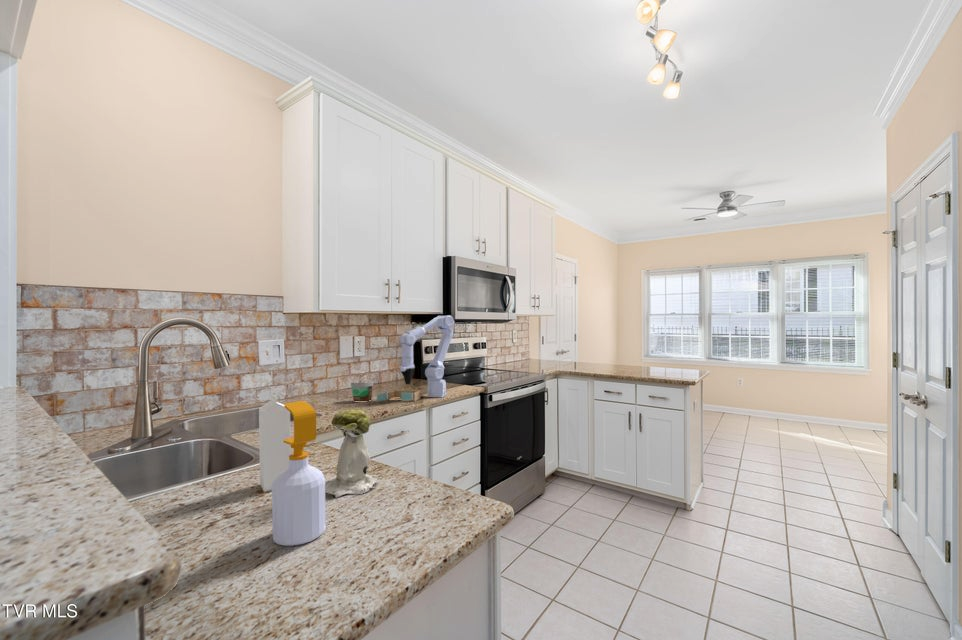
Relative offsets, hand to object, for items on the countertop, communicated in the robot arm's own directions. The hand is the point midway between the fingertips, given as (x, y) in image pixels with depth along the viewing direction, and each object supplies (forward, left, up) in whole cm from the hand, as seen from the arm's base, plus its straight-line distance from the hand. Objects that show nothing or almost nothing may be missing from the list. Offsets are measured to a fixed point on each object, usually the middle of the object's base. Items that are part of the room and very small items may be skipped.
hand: (408, 383), depth 209 cm
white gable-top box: (-9, +109, -9) cm, 110 cm away
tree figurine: (-28, +107, -9) cm, 111 cm away
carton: (+3, -1, -8) cm, 9 cm away
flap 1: (+11, +6, -7) cm, 15 cm away
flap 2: (0, +3, -7) cm, 8 cm away
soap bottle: (-30, +129, -9) cm, 133 cm away
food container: (+23, +7, -9) cm, 26 cm away
